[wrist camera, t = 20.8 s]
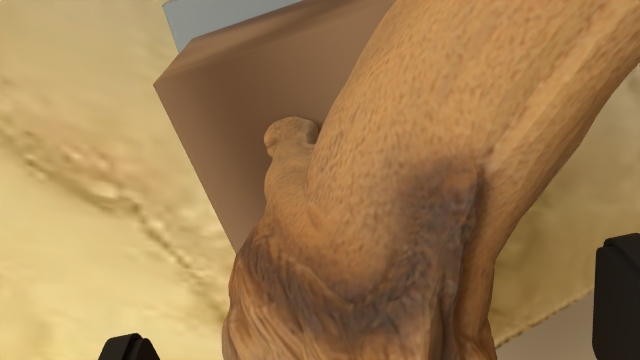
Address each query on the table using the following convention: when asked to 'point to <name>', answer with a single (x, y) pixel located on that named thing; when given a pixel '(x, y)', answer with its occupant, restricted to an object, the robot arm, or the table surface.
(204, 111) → the walnut brick
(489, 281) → the lion figurine
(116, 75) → the table surface
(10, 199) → the table surface
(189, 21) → the base slab
